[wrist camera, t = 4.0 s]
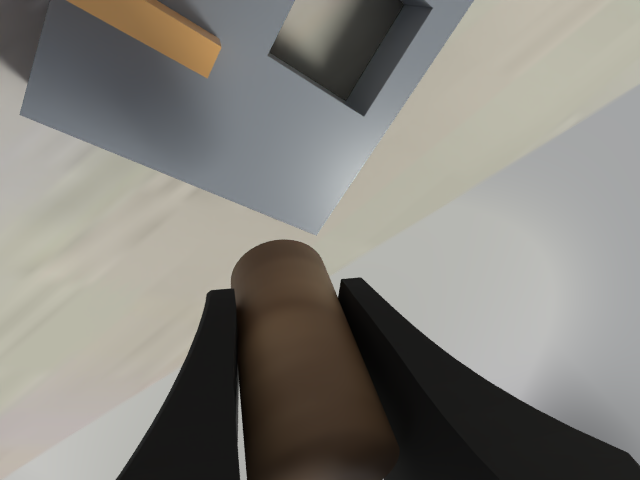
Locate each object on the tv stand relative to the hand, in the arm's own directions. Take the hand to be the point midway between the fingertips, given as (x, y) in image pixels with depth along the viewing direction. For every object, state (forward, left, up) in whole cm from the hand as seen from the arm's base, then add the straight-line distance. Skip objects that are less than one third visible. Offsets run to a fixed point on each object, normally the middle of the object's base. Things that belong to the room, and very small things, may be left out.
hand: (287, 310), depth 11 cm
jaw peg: (0, 0, -2) cm, 2 cm away
